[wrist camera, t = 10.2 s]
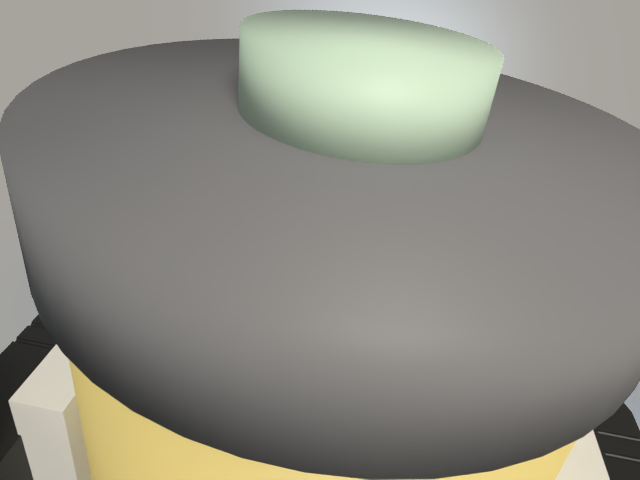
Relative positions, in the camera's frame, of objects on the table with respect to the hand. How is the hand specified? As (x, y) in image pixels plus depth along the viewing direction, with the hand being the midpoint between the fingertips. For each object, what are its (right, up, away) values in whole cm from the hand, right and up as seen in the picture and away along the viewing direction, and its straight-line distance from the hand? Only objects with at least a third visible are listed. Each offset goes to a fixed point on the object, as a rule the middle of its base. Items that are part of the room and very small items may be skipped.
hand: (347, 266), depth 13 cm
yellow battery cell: (-1, -8, -1) cm, 9 cm away
